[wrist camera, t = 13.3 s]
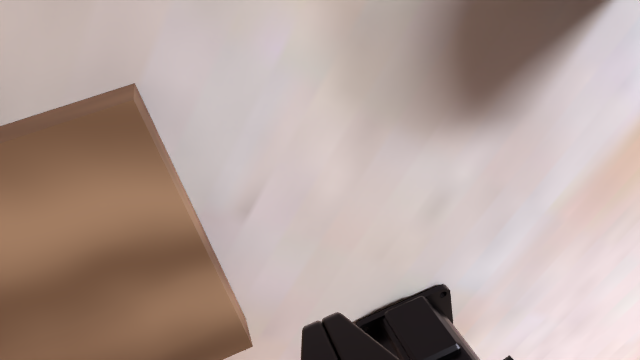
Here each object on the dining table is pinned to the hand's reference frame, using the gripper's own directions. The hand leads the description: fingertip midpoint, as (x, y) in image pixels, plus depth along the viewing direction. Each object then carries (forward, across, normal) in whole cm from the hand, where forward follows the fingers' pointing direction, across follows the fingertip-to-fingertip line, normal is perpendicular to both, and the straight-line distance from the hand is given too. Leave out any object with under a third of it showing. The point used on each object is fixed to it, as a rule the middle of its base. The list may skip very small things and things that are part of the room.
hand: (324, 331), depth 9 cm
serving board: (+12, +9, +4) cm, 16 cm away
